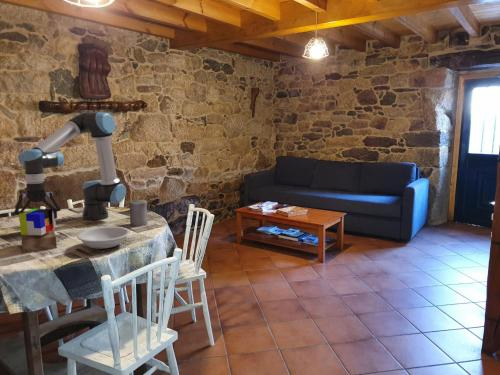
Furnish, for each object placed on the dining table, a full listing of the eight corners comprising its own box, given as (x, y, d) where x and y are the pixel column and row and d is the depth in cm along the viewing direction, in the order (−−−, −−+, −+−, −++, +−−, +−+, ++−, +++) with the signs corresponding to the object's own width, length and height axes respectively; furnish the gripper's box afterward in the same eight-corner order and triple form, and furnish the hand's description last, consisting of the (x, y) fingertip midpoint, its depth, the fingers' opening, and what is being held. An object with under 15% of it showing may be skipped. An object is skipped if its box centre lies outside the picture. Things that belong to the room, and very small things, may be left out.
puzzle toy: (41, 235, 178) (39, 214, 177) (21, 234, 179) (18, 213, 177) (54, 229, 188) (52, 209, 186) (34, 228, 189) (32, 208, 187)
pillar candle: (130, 222, 228) (128, 198, 225) (147, 221, 231) (146, 197, 228) (130, 227, 219) (129, 201, 216) (148, 225, 222) (147, 200, 219)
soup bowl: (140, 240, 195) (139, 228, 193) (113, 257, 172) (112, 242, 170) (98, 237, 200) (97, 224, 199) (66, 252, 177) (65, 238, 176)
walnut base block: (54, 240, 195) (53, 229, 194) (56, 248, 183) (55, 236, 182) (22, 245, 188) (20, 233, 186) (22, 253, 176) (21, 241, 175)
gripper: (3, 185, 173) (8, 231, 177) (63, 182, 182) (66, 226, 186) (7, 182, 180) (11, 226, 184) (64, 179, 189) (67, 222, 193)
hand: (39, 226), depth 185 cm, fingers closed on puzzle toy, 12 cm apart
